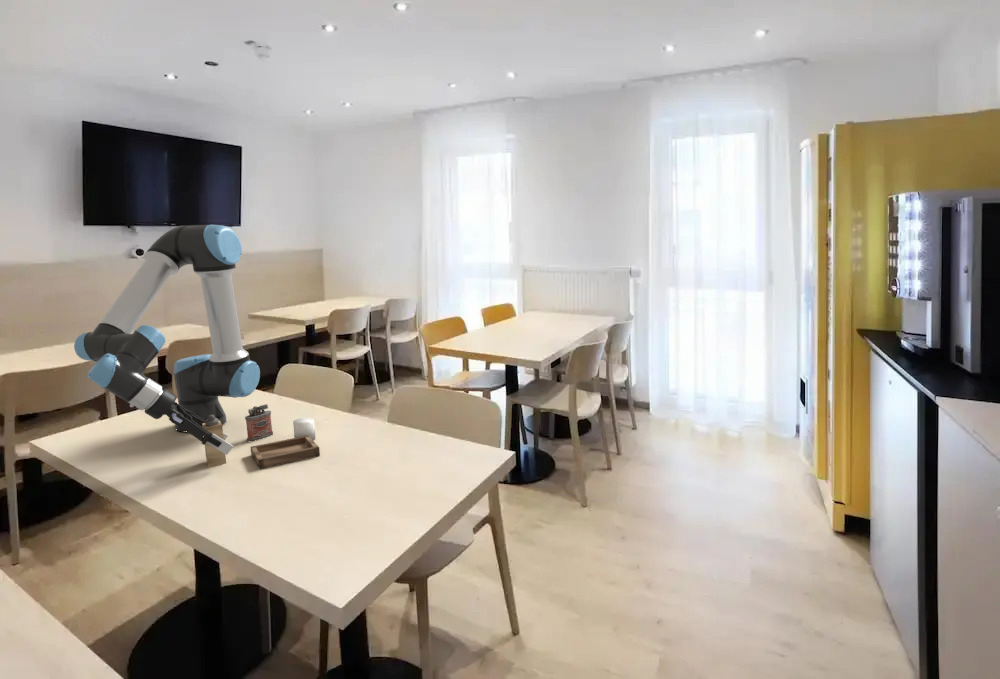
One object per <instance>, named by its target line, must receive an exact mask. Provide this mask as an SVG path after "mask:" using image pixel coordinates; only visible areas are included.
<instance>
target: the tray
mask: <svg viewBox="0 0 1000 679" xmlns="http://www.w3.org/2000/svg"><path fill="white" fill-rule="evenodd" d="M320 455H321V453H320V447H319V445H318V444H317V443H316V442H315V440H312V439H311V438H310V437H309V436H308V435H307V436H302V437H297V438H295V437H293V438H288V439H283V440H277V441H273V442H268V443H262V444H257V445H252V446H250V456H251V457H252V459H253V460H254V462H255V464H256V466H257V468H258V469H259V470H261V469H266V468H270V467H276V466H280V465H285V464H289V463H293V462H297V461H298V462H299V461H302V460H307V459H312V458H316V457H320Z"/></svg>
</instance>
